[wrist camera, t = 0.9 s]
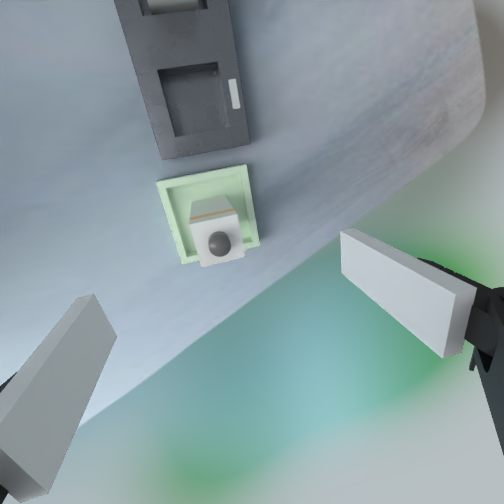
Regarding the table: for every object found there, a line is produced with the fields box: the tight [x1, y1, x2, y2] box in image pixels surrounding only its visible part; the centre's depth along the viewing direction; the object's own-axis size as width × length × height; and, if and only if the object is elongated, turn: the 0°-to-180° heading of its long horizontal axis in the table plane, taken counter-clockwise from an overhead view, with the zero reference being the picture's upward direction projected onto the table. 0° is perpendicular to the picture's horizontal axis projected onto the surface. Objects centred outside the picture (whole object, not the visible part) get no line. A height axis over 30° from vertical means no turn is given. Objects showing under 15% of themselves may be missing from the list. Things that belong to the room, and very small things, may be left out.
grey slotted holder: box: [114, 0, 250, 160], centre depth 22 cm, size 9×18×4 cm, turn 10°
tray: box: [156, 164, 260, 265], centre depth 29 cm, size 10×10×2 cm
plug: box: [189, 195, 246, 268], centre depth 25 cm, size 4×4×11 cm
